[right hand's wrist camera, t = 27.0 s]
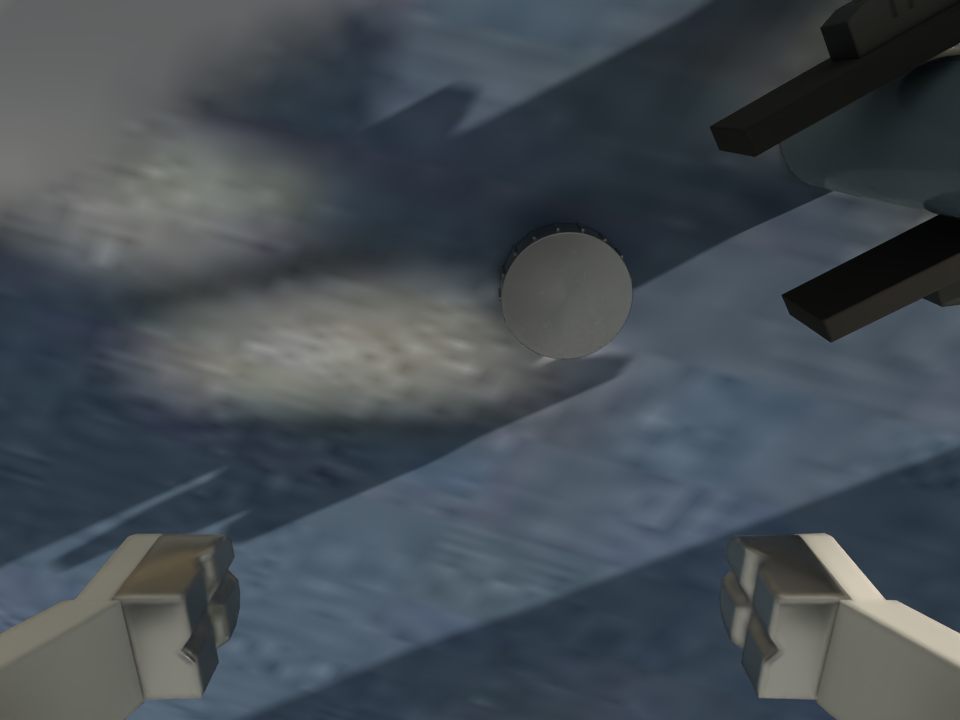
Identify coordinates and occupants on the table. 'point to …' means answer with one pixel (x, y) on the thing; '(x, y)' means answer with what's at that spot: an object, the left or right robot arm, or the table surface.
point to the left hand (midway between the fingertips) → (771, 232)
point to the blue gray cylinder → (891, 142)
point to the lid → (565, 291)
